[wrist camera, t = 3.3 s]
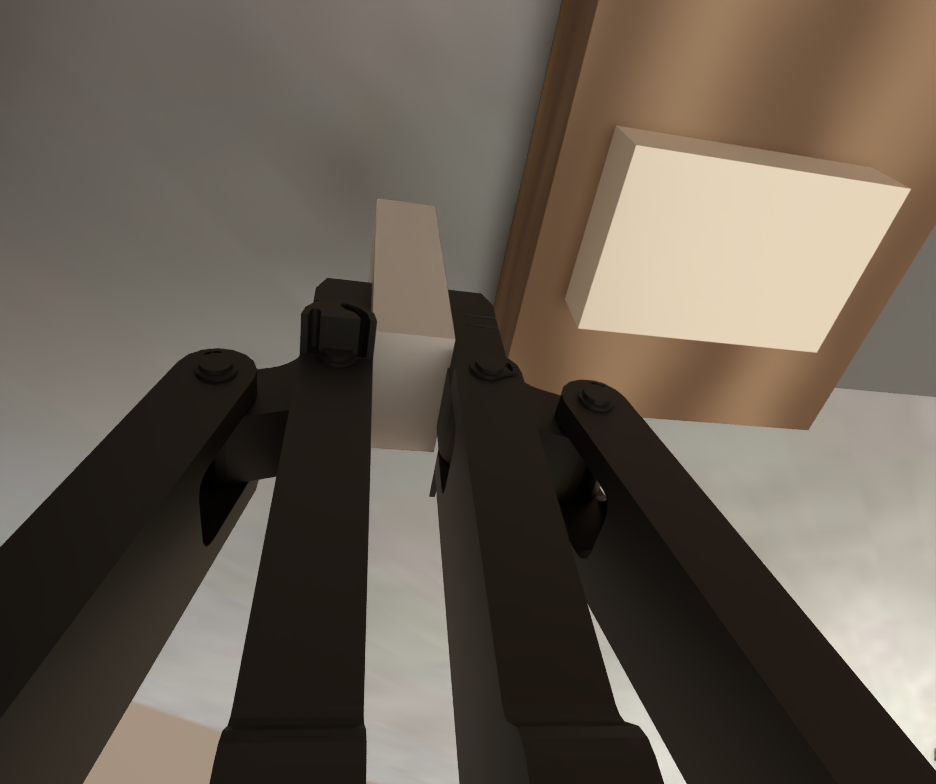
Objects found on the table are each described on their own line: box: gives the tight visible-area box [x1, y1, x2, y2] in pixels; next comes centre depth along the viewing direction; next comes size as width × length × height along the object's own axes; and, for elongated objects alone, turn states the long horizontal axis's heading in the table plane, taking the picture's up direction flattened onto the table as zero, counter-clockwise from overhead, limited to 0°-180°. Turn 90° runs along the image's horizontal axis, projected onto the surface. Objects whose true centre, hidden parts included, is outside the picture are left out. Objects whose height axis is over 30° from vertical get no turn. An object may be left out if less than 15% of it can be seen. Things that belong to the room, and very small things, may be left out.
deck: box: [493, 0, 936, 430], centre depth 24 cm, size 14×16×4 cm
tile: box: [565, 125, 911, 353], centre depth 22 cm, size 9×6×2 cm, turn 80°
